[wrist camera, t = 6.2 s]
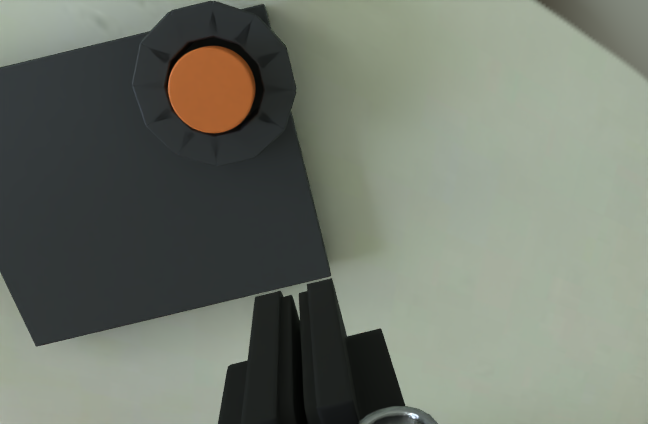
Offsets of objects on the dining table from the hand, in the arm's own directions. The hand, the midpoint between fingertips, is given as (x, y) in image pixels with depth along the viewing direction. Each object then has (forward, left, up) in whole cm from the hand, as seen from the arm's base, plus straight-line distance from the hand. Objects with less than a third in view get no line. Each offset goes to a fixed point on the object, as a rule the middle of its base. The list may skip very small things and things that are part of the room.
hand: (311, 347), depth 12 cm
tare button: (+2, -5, -11) cm, 13 cm away
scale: (+7, -1, -14) cm, 15 cm away
